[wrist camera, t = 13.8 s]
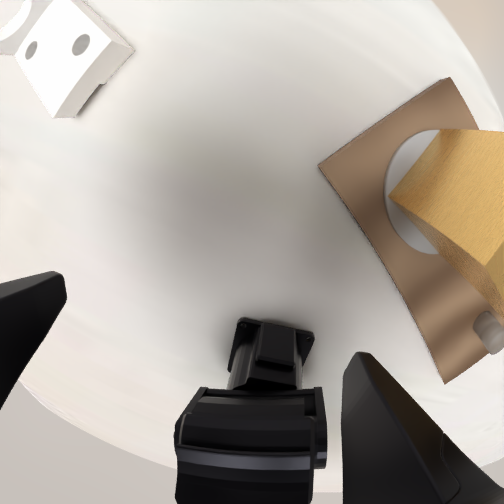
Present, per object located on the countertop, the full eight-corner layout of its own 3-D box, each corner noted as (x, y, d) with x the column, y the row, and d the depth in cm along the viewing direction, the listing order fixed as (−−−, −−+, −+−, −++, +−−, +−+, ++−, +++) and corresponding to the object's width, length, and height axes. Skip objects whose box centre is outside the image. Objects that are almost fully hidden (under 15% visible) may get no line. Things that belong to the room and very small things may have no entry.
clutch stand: (518, 313, 19) (545, 345, 14) (440, 375, 23) (458, 415, 18) (440, 79, 14) (488, 67, 8) (317, 165, 17) (332, 177, 12)
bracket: (31, 47, 15) (-22, 42, 8) (74, -7, 13) (24, -27, 6) (81, 117, 18) (13, 121, 11) (136, 51, 16) (74, 26, 9)
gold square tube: (486, 193, 14) (587, 245, 5) (439, 254, 16) (522, 342, 7) (440, 128, 13) (559, 140, 4) (387, 196, 15) (484, 266, 6)
